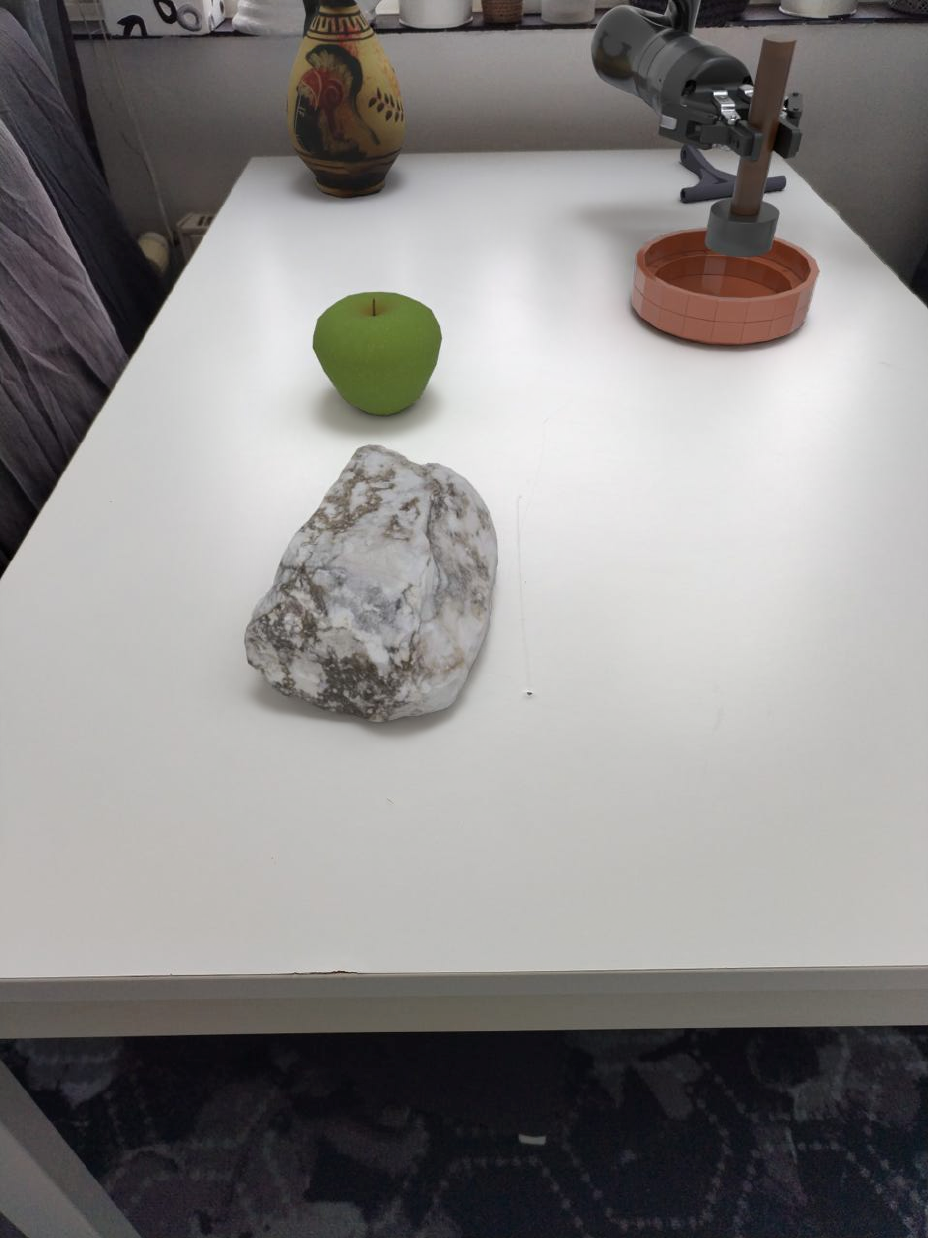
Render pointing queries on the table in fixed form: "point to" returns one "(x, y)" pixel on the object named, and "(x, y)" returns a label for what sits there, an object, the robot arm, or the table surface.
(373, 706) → the decorative stone
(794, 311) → the bowl
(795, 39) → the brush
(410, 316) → the apple
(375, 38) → the ceramic jug
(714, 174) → the bracket
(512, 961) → the table surface
